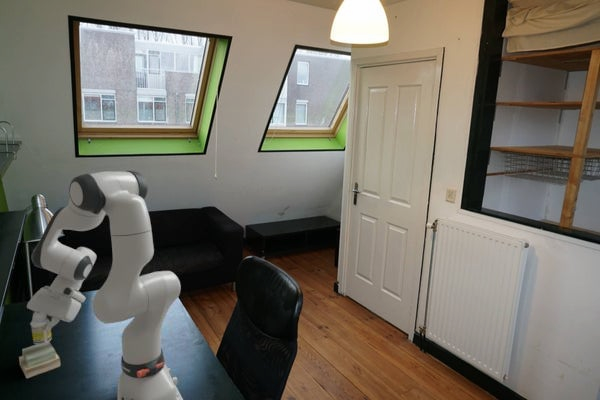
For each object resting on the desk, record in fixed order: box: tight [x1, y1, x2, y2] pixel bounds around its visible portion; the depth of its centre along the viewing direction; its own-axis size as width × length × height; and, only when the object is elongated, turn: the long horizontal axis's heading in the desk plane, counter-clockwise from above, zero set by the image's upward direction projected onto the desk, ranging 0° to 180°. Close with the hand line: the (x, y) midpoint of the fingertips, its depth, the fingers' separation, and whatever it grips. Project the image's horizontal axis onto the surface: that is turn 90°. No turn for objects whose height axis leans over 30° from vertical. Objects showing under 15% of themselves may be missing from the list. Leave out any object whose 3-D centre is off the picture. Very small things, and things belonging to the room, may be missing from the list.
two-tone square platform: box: [18, 341, 61, 379], centre depth 140 cm, size 10×10×6 cm
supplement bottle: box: [30, 312, 52, 345], centre depth 139 cm, size 5×5×10 cm
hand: (39, 328), depth 138 cm, fingers closed on supplement bottle, 5 cm apart
